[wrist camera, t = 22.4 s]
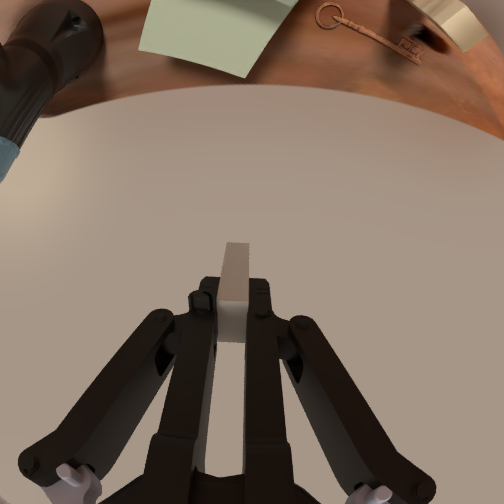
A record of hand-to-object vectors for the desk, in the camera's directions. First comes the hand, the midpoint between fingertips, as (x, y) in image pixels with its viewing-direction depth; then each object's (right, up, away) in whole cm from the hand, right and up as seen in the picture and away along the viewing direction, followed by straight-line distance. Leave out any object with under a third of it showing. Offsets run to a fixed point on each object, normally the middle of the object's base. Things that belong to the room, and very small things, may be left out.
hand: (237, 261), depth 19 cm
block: (+18, +29, -6) cm, 34 cm away
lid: (-2, +22, -2) cm, 23 cm away
